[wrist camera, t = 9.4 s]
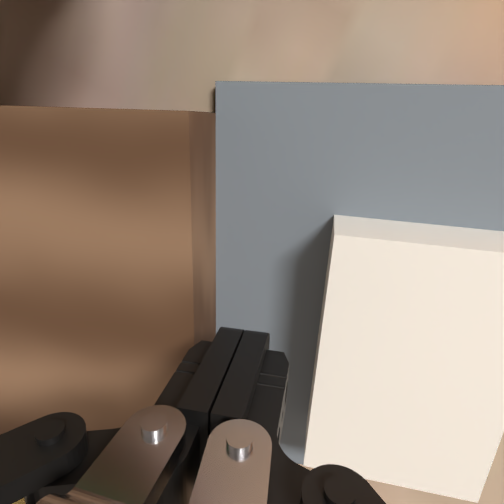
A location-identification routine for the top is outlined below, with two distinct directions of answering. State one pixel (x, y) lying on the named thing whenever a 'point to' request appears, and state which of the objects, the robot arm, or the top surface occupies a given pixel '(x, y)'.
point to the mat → (337, 194)
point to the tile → (410, 355)
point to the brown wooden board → (102, 257)
